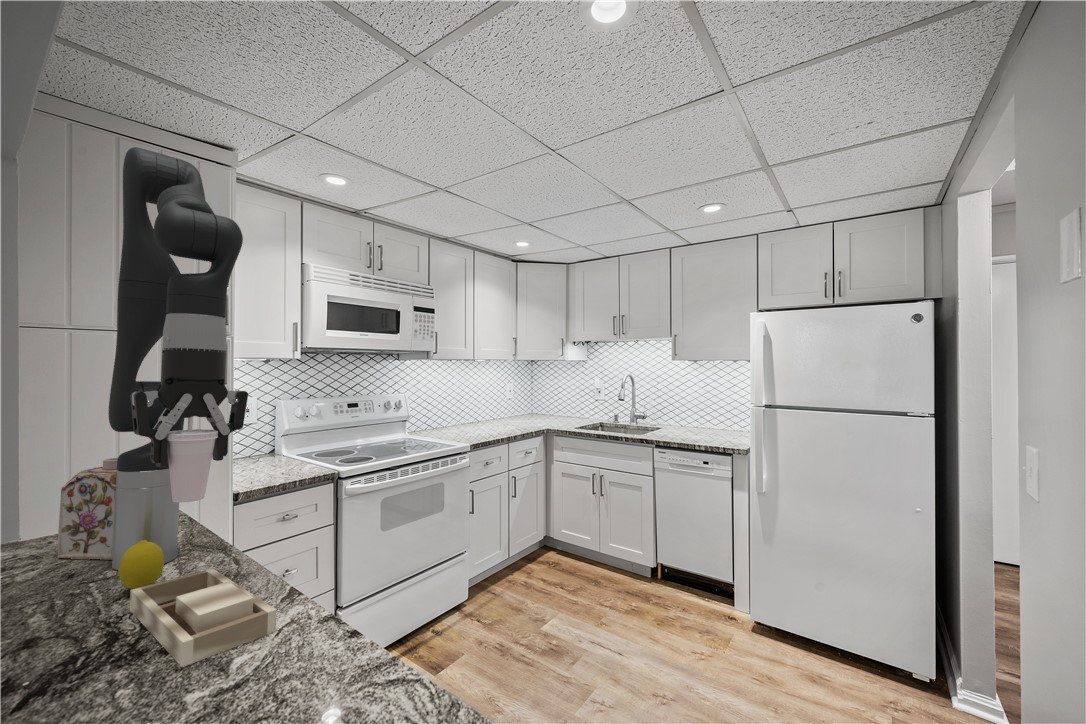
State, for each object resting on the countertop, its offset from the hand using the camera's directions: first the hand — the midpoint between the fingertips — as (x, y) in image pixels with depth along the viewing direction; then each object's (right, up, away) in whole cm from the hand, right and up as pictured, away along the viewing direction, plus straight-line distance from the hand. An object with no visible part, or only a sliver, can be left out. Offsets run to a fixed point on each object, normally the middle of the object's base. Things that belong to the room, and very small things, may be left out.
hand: (190, 462), depth 69 cm
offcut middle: (+9, -20, -7) cm, 23 cm away
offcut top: (+8, -18, -7) cm, 21 cm away
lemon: (-13, -22, +7) cm, 27 cm away
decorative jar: (-34, -23, +25) cm, 48 cm away
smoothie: (0, -5, 0) cm, 5 cm away
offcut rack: (+5, -22, -5) cm, 23 cm away
